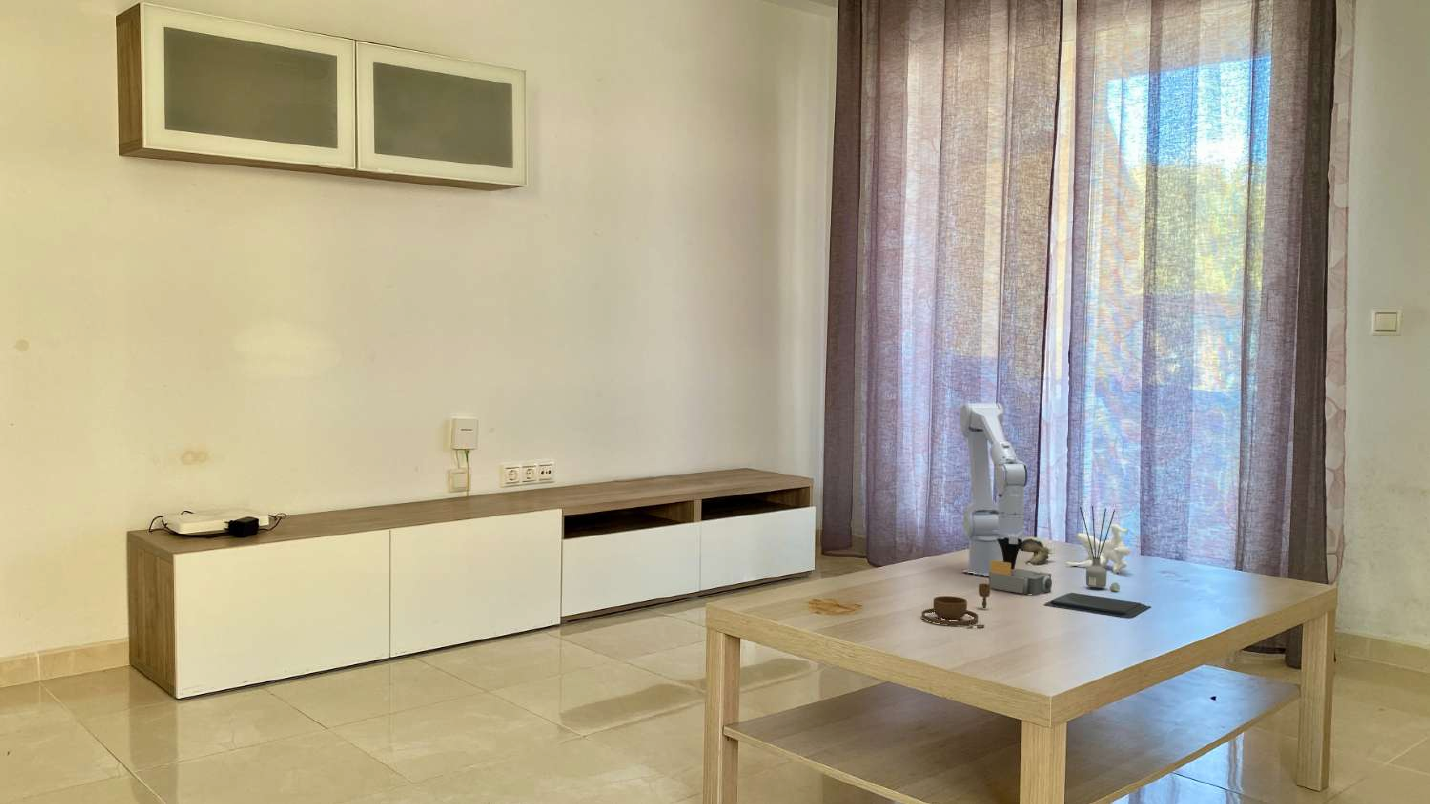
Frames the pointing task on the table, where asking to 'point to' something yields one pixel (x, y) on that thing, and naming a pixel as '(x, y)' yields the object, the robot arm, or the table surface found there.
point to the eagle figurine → (1037, 550)
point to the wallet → (1098, 605)
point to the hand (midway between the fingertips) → (1009, 568)
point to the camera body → (1034, 580)
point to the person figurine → (1105, 550)
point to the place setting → (956, 609)
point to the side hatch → (1006, 578)
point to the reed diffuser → (1098, 563)
